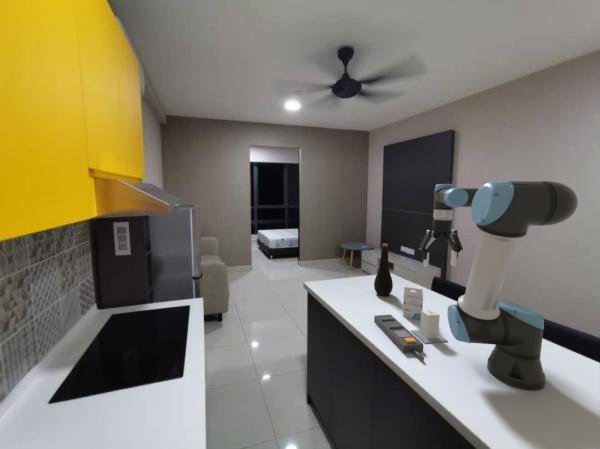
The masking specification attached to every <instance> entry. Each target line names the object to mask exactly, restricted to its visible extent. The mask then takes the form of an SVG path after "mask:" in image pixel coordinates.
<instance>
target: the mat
mask: <svg viewBox="0 0 600 449" xmlns="http://www.w3.org/2000/svg"><path fill="white" fill-rule="evenodd" d="M410 332H411V333H412V334H413V335H414V336H415V337H416V338H417V339H418V340H420V341H421V342H422V343H423V344H425V345H427V344H435V343H436V344H439V343H448V340H447V339H446V338H445V337H444V336H442V335H441V334H440V333H438V338H433V339H426V338H425V337H424V336H423V335H422V334H420V329H415V330H413V329H412V330H410Z"/></svg>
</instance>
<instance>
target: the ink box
mask: <svg viewBox="0 0 600 449" xmlns="http://www.w3.org/2000/svg"><path fill="white" fill-rule="evenodd" d="M403 288H404V289H403V290H404V291H403V301H402V302H403V305H402V307H403V308H402V317H406V318H411V319H416V320H420V321H421V310H424V309H423V308H424V307H423V305H424V292H423V289H421V288H420V289H419V288H414V287H407V286H404V287H403Z"/></svg>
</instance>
